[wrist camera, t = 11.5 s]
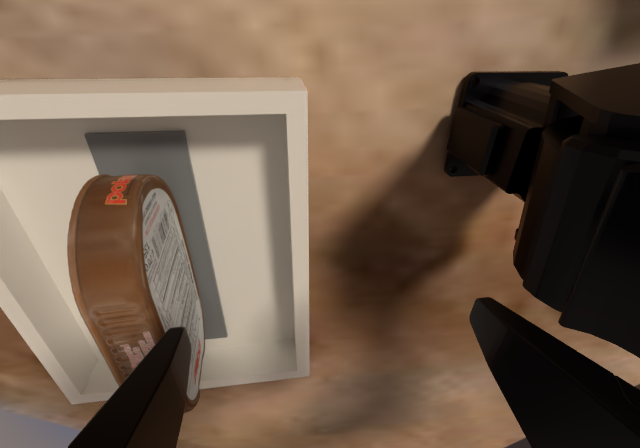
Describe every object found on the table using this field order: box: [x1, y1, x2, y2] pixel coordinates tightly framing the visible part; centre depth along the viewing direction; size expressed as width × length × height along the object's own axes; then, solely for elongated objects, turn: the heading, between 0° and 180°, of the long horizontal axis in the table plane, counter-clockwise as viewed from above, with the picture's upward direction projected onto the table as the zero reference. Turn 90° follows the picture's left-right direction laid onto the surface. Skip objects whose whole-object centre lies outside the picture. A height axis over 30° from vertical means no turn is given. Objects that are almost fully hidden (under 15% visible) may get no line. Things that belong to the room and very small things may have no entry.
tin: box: [67, 174, 205, 413], centre depth 18 cm, size 15×3×8 cm, turn 179°
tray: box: [0, 77, 310, 405], centre depth 21 cm, size 18×22×4 cm
